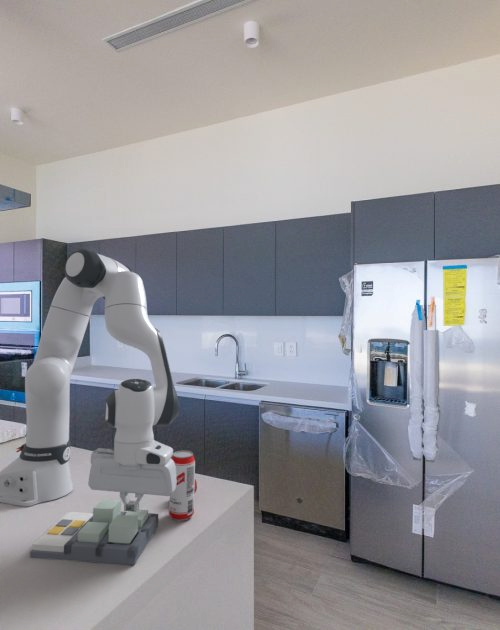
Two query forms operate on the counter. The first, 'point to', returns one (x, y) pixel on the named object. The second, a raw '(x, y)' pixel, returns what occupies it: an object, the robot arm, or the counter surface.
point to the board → (66, 546)
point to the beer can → (183, 486)
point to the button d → (140, 517)
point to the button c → (123, 529)
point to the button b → (106, 510)
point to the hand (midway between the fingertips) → (131, 510)
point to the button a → (93, 532)
